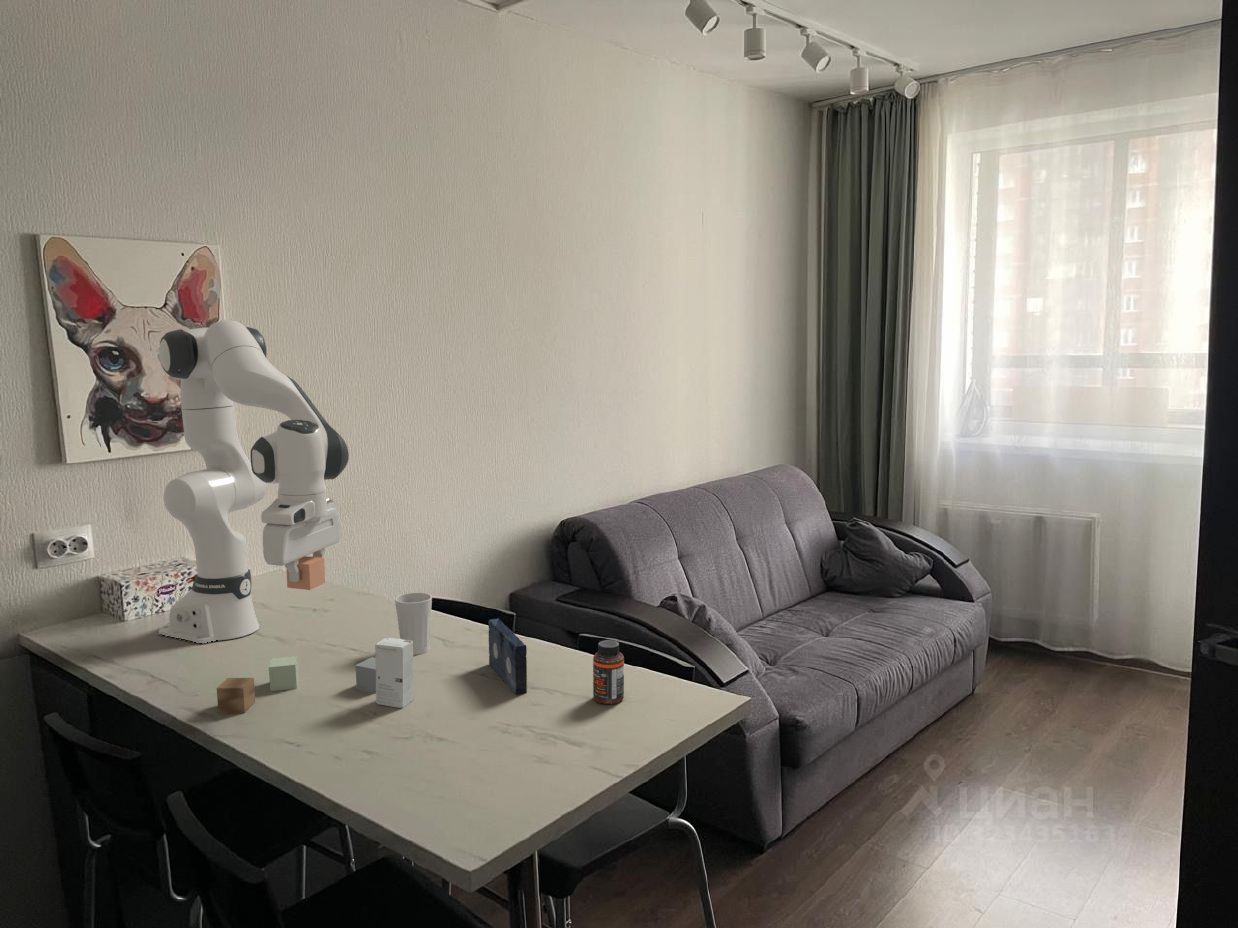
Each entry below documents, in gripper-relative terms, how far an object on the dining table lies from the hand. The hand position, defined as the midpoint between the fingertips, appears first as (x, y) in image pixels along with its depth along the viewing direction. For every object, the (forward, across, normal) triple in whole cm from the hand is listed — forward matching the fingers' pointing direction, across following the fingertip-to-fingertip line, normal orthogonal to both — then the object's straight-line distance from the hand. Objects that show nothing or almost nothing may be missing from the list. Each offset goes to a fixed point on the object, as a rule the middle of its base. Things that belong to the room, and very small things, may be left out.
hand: (305, 576), depth 182 cm
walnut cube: (+24, +10, -9) cm, 28 cm away
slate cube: (+24, -6, +10) cm, 27 cm away
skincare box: (+24, 0, +18) cm, 30 cm away
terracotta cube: (+2, 0, 0) cm, 2 cm away
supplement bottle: (+23, -12, +58) cm, 63 cm away
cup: (+24, -27, +8) cm, 37 cm away
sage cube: (+24, -2, -8) cm, 25 cm away
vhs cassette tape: (+23, -17, +34) cm, 45 cm away
